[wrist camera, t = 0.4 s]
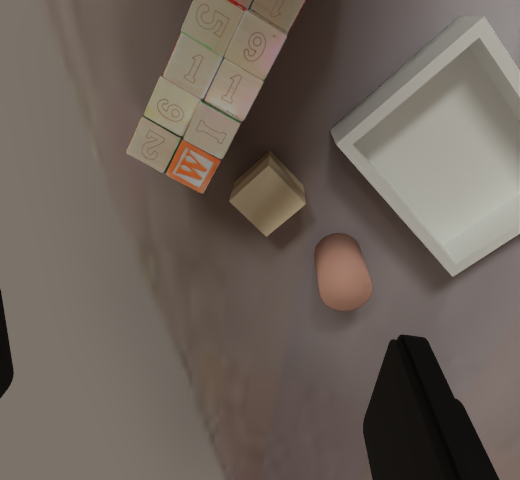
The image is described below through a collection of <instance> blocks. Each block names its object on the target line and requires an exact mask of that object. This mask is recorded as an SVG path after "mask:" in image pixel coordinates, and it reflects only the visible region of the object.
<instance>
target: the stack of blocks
mask: <svg viewBox="0 0 520 480" xmlns="http://www.w3.org/2000/svg"><path fill="white" fill-rule="evenodd" d="M305 2H306V0H193V2H192V4H191V6H190V9H189V11H188V14H187V16H186V18H185V21H184V23H183V25H182V28H181V34H180V36H179V38H178V40H177V43H176V45H175V47H174V50H173V52H172V54H171V57H170V59H169V61H168V64H167V66H166V68H165V71H164V73H163V75H161V76H160V77H159V80H158V82H157V84H156V86H155V89H154V91H153V93H152V96H151V98H150V100H149V103H148V105H147V107H146V109H145V112H144V116H143V117H142V118H141V119H140V122H139V124H138V126H137V128H136V130H135V133H134V135H133V137H132V139H131V141H130V144H129V146H128V148H127V151H126V153H127V154H128V155H130V156H132V157H134V158H136V159H138V160H139V161H141V162H143V163H145V164H147V165H149V166H150V167H152V168H154V169H156V170H157V171H159V172H161V173H164V172H165V173H166V175H168V176H169V177H171V178H172V179H174V180H176V181H178V182H180V183H182V184H184V185H186V186H187V187H189V188H191V189H193V190H195V191H197V192H199V193H201V194H203V193H204V191H205V190H206V188H207V186H208V184H209V182H210V180H211V178H212V177H213V175H214V173H215V171H216V169H217V167H218V166H219V164H220V162H221V159H223V157H224V156H225V154H226V152H227V150H228V148H229V146H230V144H231V142H232V140H233V138H234V136H235V134H236V132H237V130H238V128H239V126H240V124H241V122H242V121H244V120H245V118H246V116H247V114H248V113H249V110H250V108H251V106H252V105H253V103H254V101H255V99H256V97H257V95H258V93H259V91H260V89H261V87H262V85H263V83H264V80H265V78H266V77H267V75H268V73H269V71H270V69H271V67H272V65H273V63H274V61H275V60H276V58H277V56H278V54H279V52H280V50H281V48H282V46H283V44H284V42H285V41H286V39H287V34H288V33H289V31H290V29H291V27H292V25H293V23H294V22H295V20H296V18H297V16H298V14H299V13H300V11H301V9H302V7H303V5H304V4H305Z"/></svg>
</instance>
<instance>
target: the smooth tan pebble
mask: <svg viewBox="0 0 520 480" xmlns="http://www.w3.org/2000/svg"><path fill="white" fill-rule="evenodd" d="M314 256H315V263H316V270H317V278H318V285H319V292H320V296H321V299H322V300H323V302H324V303H325V304H326V305H327V306H329V307H330V308H332V309H335V310H339V311H350V310H354V309H357V308H359V307H361V306H362V305H364V304H365V303H366V302H367V301H368V299H369V298H370V296H371V294H372V282H371V279H370V276H369V273H368V270H367V267H366V264H365V261H364V259H363V256H362V253H361V250H360V247H359V244H358V243H357V241H356V240H355V239H354V238H352V237H351V236H349V235H346V234H341V233H336V234H331V235H328V236H326V237H324V238H323V239H322V240H321V241H320V242H319V243H318V244H317V246H316V248H315V253H314Z"/></svg>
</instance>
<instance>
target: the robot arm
mask: <svg viewBox="0 0 520 480" xmlns="http://www.w3.org/2000/svg"><path fill="white" fill-rule="evenodd" d="M13 374H14V372H13V365H12V358H11V352H10V345H9V339H8V333H7V327H6V320H5V314H4V308H3V301H2V295H1V290H0V398H1V397H2V395H3V394H4V393H5V392H6V390H7V389H8V388H9V386H10V384H11V382H12V379H13ZM363 433H364V439H365V444H366V449H367V454H368V459H369V464H370V469H371V474H372V479H373V480H499V478H498V476H497V474H496V472H495V470H494V468H493V466H492V463H491V461H490V459H489V457H488V455H487V453H486V451H485V449H484V447H483V445H482V443H481V441H480V439H479V437H478V435H477V433H476V430H475V428H474V426H473V424H472V422H471V420H470V418H469V416H468V414H467V412H466V410H465V408H464V406H463V405H462V403H461V402H460V401H459V400H457V399H455V398H454V396H453V393H452V391H451V389H450V387H449V385H448V383H447V381H446V379H445V376H444V374H443V372H442V370H441V368H440V366H439V364H438V362H437V359H436V357H435V355H434V353H433V351H432V349H431V347H430V345H429V342H428V341H427V339H426V338H424V337H417V336H409V335H400V336H399V337H398V339H397V340H394V339H392V340H391V341H390V343H389V345H388V348H387V351H386V354H385V357H384V360H383V363H382V366H381V369H380V372H379V375H378V378H377V381H376V384H375V387H374V390H373V393H372V396H371V400H370V403H369V406H368V409H367V412H366V415H365V418H364V423H363Z"/></svg>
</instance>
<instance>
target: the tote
mask: <svg viewBox="0 0 520 480" xmlns="http://www.w3.org/2000/svg"><path fill="white" fill-rule="evenodd" d="M330 132H331V134H332V136H333V139H334V141H335V143H336V145H337V146H338V147H339V148H340V150H341V151H342V152H343V153H344V154H345V155H346V156H347V158H348V159H349V160H350V161H351V162H352V163H353V164H354V165H355V167H356V168H357V169H358V170H359V171H360V172H361V173H362V175H363V176H364V177H365V178H366V179H367V180H368V181H369V183H370V184H371V185H372V186H373V187H374V188H375V189H376V190H377V192H378V193H379V194H380V195H381V196H382V197H383V198H384V200H385V201H386V202H387V203H388V204H389V205H390V206H391V208H392V209H393V210H394V211H395V212H396V213H397V214H398V215H399V217H400V218H401V219H402V220H403V221H404V222H405V223H406V225H407V226H408V227H409V228H410V229H411V230H412V231H413V233H414V234H415V235H416V236H417V237H418V238H419V239H420V240H421V242H422V243H423V244H424V245H425V246H426V247H427V248H428V250H429V251H430V252H431V253H432V254H433V255H434V256H435V258H436V259H437V260H438V261H439V262H440V263H441V264H442V265H443V267H444V268H445V269H446V270H447V271H448V272H449V273H450V275H451V276H452V277H454V276H455V275H457V274H458V273H460V272H461V271H463V270H464V269H466V268H467V267H469V266H471V265H472V264H474V263H475V262H477V261H478V260H480V259H481V258H483V257H484V256H486V255H488V254H489V253H491V252H492V251H494V250H495V249H497V248H498V247H500V246H501V245H503V244H504V243H506V242H508V241H509V240H511V239H512V238H514V237H515V236H517V235H518V234H520V70H519V69H518V67H517V66H516V64H515V62H514V61H513V59H512V58H511V56H510V55H509V53H508V52H507V50H506V49H505V47H504V46H503V44H502V42H501V41H500V39H499V38H498V36H497V35H496V33H495V32H494V30H493V29H492V27H491V26H490V24H489V22H488V21H487V19H486V18H485V16H459V17H458V18H457V19H456V20H454V21H453V22H452V23H451V24H450V25H449V26H448V27H446V28H445V29H444V30H443V31H442V32H441V33H440V34H439V35H437V36H436V37H435V38H434V39H433V40H432V41H431V42H429V43H428V44H427V45H426V46H425V47H424V48H423V49H422V50H420V51H419V52H418V53H417V54H416V55H415V56H414V57H412V58H411V59H410V60H409V61H408V62H407V63H406V64H405V65H403V66H402V67H401V68H400V69H399V70H398V71H397V72H395V73H394V74H393V75H392V76H391V77H390V78H389V79H388V80H386V81H385V82H384V83H383V84H382V85H381V86H380V87H378V88H377V89H376V90H375V91H374V92H373V93H372V94H371V95H369V96H368V97H367V98H366V99H365V100H364V101H363V102H361V103H360V104H359V105H358V106H357V107H356V108H355V109H354V110H352V111H351V112H350V113H349V114H348V115H347V116H346V117H344V118H343V119H342V120H341V121H340V122H339V123H338V124H337V125H335V126H334V127H333V128H332V129H331V130H330Z"/></svg>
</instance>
